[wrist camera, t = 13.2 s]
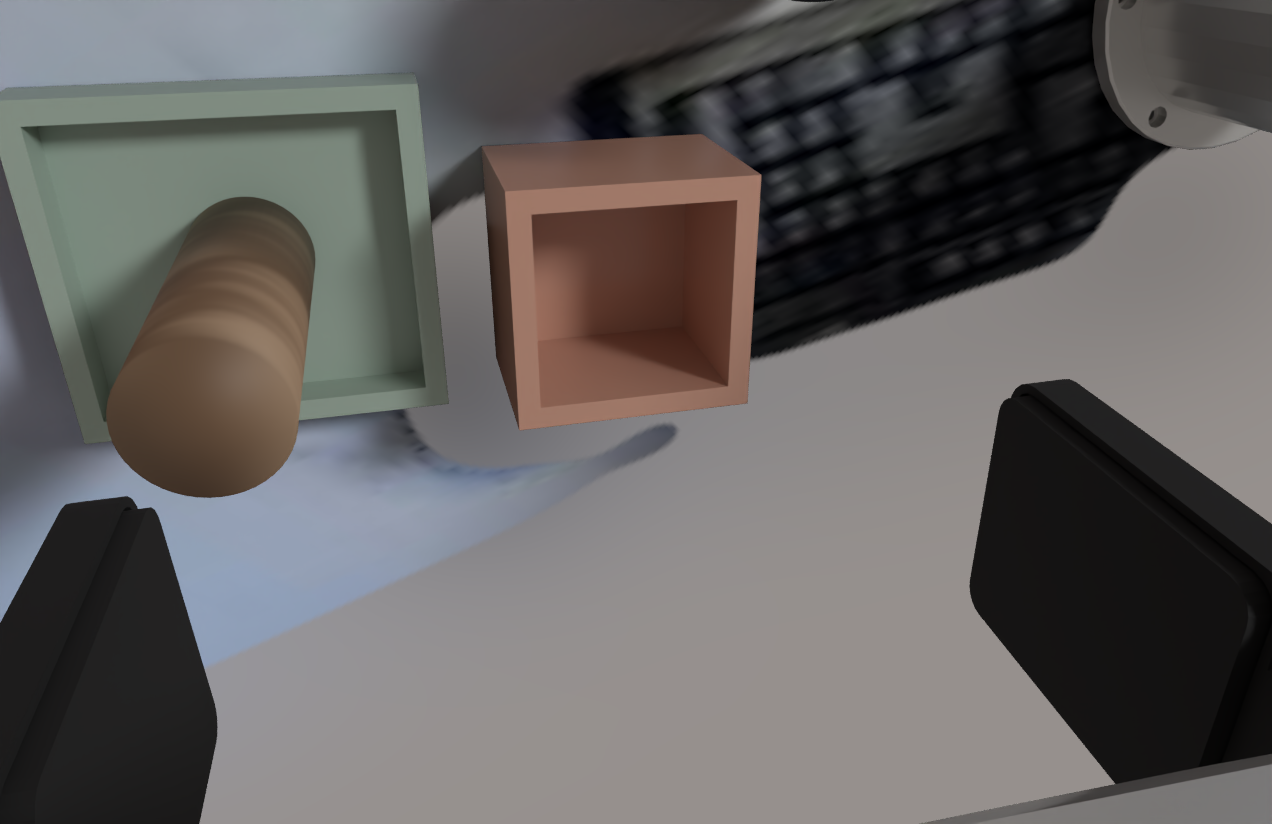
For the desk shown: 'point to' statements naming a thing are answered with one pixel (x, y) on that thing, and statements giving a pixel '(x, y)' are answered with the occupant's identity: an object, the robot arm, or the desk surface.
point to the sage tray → (221, 169)
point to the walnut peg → (220, 355)
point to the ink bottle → (811, 0)
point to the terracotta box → (621, 276)
